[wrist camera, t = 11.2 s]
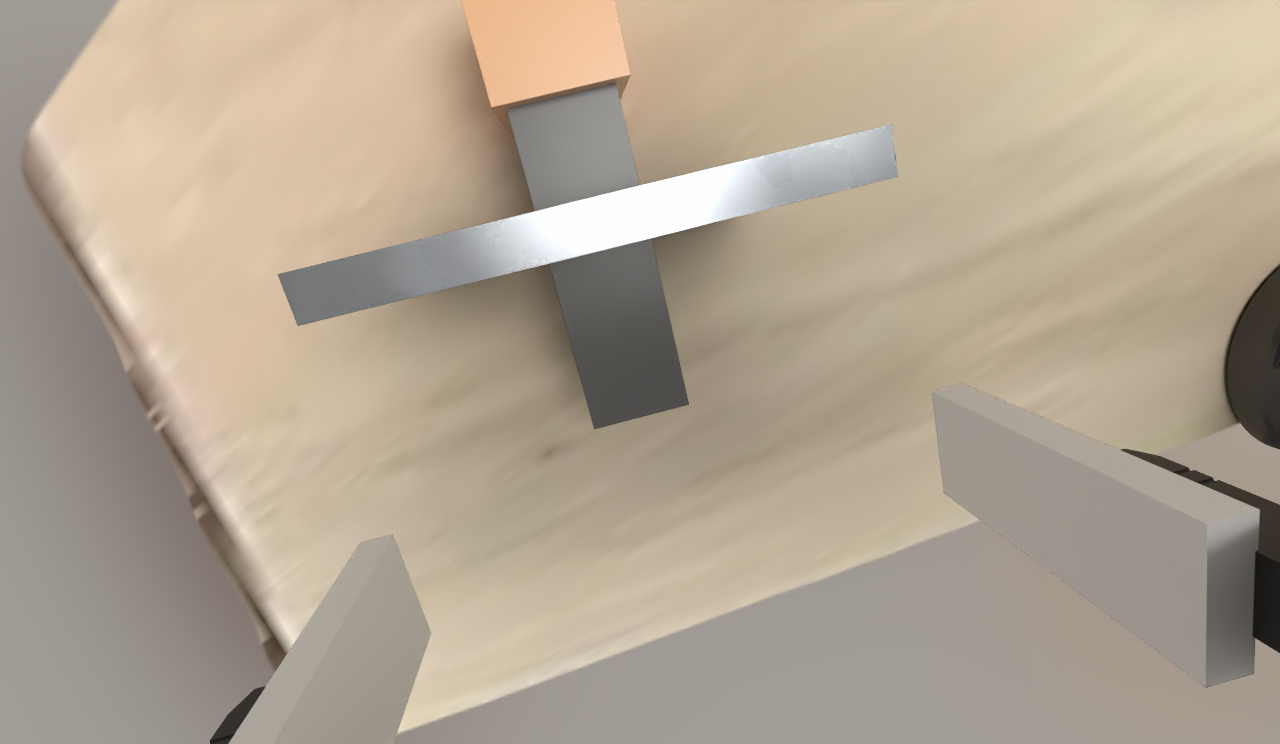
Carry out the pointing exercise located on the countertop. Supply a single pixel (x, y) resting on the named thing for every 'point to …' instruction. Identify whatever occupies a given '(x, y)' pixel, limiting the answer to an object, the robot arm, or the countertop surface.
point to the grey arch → (589, 225)
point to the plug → (583, 188)
